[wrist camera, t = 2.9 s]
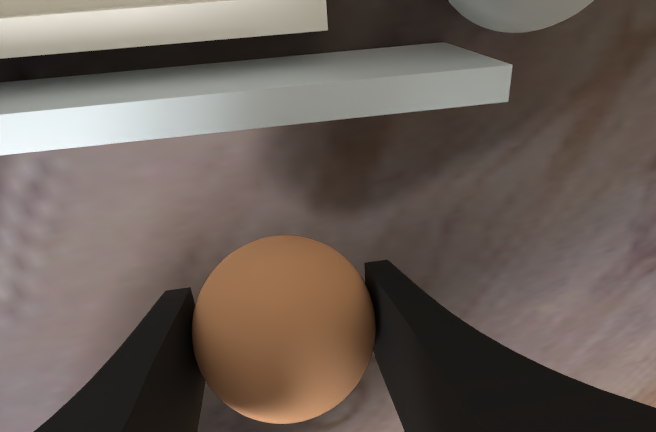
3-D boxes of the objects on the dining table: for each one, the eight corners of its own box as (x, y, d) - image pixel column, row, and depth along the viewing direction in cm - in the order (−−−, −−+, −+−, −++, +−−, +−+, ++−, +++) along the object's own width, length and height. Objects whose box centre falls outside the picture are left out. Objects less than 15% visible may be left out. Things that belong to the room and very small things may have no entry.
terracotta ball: (358, 322, 14) (397, 448, 10) (217, 342, 14) (202, 483, 10) (353, 195, 12) (398, 294, 8) (186, 216, 12) (153, 330, 8)
